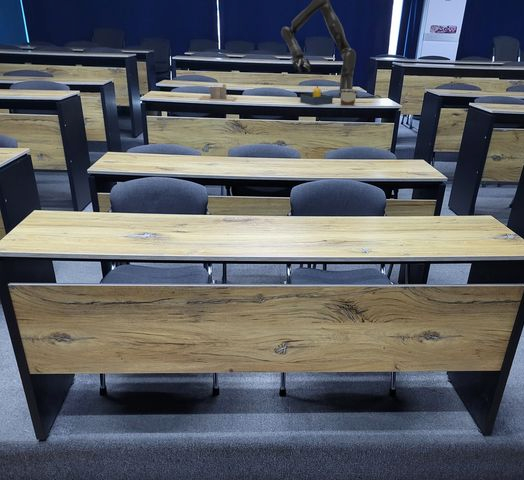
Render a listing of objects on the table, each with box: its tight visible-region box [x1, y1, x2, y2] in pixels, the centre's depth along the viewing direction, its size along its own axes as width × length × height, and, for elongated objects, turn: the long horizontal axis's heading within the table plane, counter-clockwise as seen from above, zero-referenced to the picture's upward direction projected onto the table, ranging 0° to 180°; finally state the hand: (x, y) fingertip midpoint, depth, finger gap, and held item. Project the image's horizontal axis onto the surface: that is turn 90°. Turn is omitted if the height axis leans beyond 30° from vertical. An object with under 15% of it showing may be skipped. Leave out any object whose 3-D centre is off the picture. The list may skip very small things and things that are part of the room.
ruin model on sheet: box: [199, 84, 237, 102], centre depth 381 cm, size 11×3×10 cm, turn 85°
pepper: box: [312, 85, 322, 98], centre depth 377 cm, size 6×6×11 cm
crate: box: [299, 92, 334, 106], centre depth 378 cm, size 18×16×5 cm
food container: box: [340, 88, 358, 107], centre depth 372 cm, size 12×6×10 cm, turn 84°
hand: (305, 71), depth 380 cm, fingers open, 8 cm apart
